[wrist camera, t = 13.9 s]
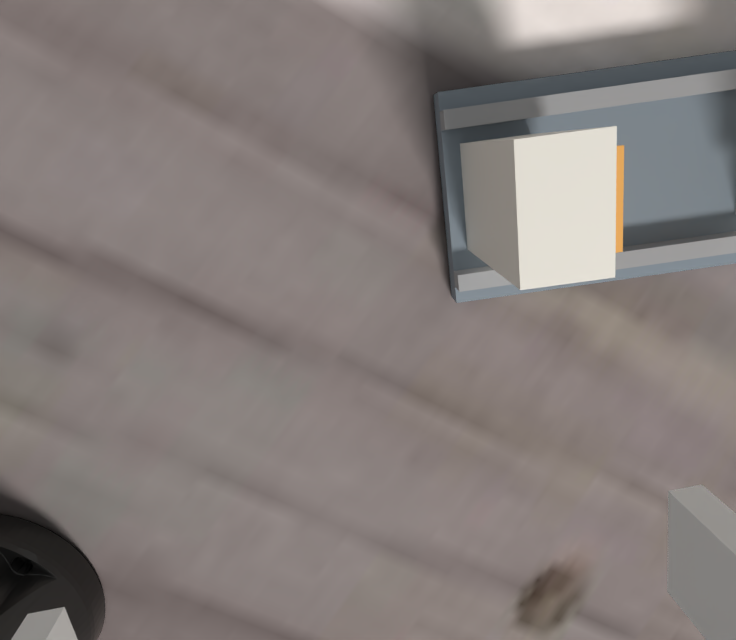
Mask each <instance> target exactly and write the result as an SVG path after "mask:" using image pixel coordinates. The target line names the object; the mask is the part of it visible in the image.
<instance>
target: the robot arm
mask: <svg viewBox="0 0 736 640" xmlns="http://www.w3.org/2000/svg"><path fill="white" fill-rule="evenodd" d="M667 592H668V593H669V594H670V595H671V597H672V598H673V599H674V600H675V602H676V603H677V604H678V605H679V607H680V608H681V609H682V610H683V612H684V613H685V614H686V615H687V617H688V618H689V619H690V620H691V622H692V623H693V624H694V625H695V627H696V628H697V629H698V630H699V631H700V633H701V634H702V635H703V636H704V638H705V639H706V640H736V513H735V512H734V511H732V510H731V509H730V508H729V507H728V506H727V505H725V504H724V503H723V502H722V501H721V500H719V499H718V498H717V497H716V496H715V495H714V494H712V493H711V492H710V491H709V490H708V489H707V488H705V487H704V486H703V485H697V486H692V487H687V488H682V489H676V490H671V491H668V581H667ZM104 618H105V599H104V594H103V590H102V587H101V584H100V582H99V580H98V578H97V576H96V574H95V572H94V571H93V569H92V567H91V566H90V565H89V563H88V562H87V561H86V559H85V558H84V557H83V556H82V555H81V554H80V553H79V552H78V551H77V550H76V549H75V548H74V547H73V546H72V545H70V544H69V543H68V542H67V541H65V540H64V539H62V538H61V537H59V536H58V535H56V534H54V533H53V532H51V531H49V530H47V529H45V528H43V527H41V526H39V525H37V524H34V523H31V522H29V521H26V520H22V519H19V518H15V517H11V516H6V515H0V640H97V639H98V637H99V635H100V633H101V630H102V627H103V624H104Z"/></svg>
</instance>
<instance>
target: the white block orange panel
mask: <svg viewBox="0 0 736 640" xmlns="http://www.w3.org/2000/svg"><path fill="white" fill-rule="evenodd" d="M460 153H461V167H462V180H463V194H464V208H465V222H466V236H467V249H468V250H469V251H470V252H472V253H473V254H474V255H476V256H477V257H478V258H479V259H481V260H482V261H483V262H485V263H486V264H487V265H488V266H490V267H491V268H492V269H494V270H495V271H496V272H497V273H499V274H500V275H501V276H503V277H504V278H505V279H506V280H508V281H509V282H510V283H512V284H513V285H514V286H515V287H517V288H518V289H519V290H526V289H533V288H541V287H548V286H556V285H563V284H570V283H578V282H585V281H593V280H600V279H608V278H615V257H616V253H618V252H623V197H624V145H617V126H611V127H600V128H590V129H579V130H569V131H558V132H548V133H537V134H528V135H520V136H513V137H505V138H498V139H490V140H483V141H475V142H468V143H460Z"/></svg>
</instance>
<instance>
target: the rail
mask: <svg viewBox="0 0 736 640" xmlns="http://www.w3.org/2000/svg"><path fill="white" fill-rule="evenodd" d="M434 106H435V117H436V128H437V139H438V150H439V161H440V172H441V183H442V194H443V205H444V216H445V227H446V238H447V249H448V260H449V271H450V282H451V293H452V298H453V299H454V300H455V301H456V303H459V302H466V301H473V300H480V299H487V298H494V297H501V296H508V295H515V294H523V293H530V292H537V291H544V290H551V289H558V288H565V287H572V286H579V285H586V284H593V283H600V282H607V281H614V280H621V279H628V278H635V277H642V276H649V275H656V274H663V273H671V272H678V271H685V270H692V269H699V268H706V267H713V266H720V265H727V264H734V263H736V50H734V51H727V52H720V53H713V54H706V55H699V56H691V57H684V58H677V59H670V60H663V61H656V62H649V63H642V64H634V65H627V66H620V67H613V68H606V69H599V70H592V71H585V72H578V73H570V74H563V75H556V76H549V77H542V78H535V79H528V80H521V81H513V82H506V83H499V84H492V85H485V86H478V87H471V88H464V89H456V90H449V91H442V92H437V93H436V94H434ZM611 126H617V145H624V197H623V252H618V253H616V257H615V278H608V279H600V280H593V281H585V282H578V283H570V284H563V285H556V286H548V287H541V288H533V289H526V290H519V289H518V288H517V287H515V286H514V285H513V284H512V283H510V282H509V281H508V280H506V279H505V278H504V277H503V276H501V275H500V274H499V273H497V272H496V271H495V270H494V269H492V268H491V267H490V266H488V265H487V264H486V263H485V262H483V261H482V260H481V259H479V258H478V257H477V256H476V255H474V254H473V253H472V252H470V251H469V250H468V249H467V236H466V222H465V208H464V194H463V180H462V167H461V153H460V143H468V142H475V141H483V140H490V139H498V138H505V137H513V136H520V135H528V134H537V133H548V132H558V131H569V130H579V129H590V128H600V127H611Z"/></svg>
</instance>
